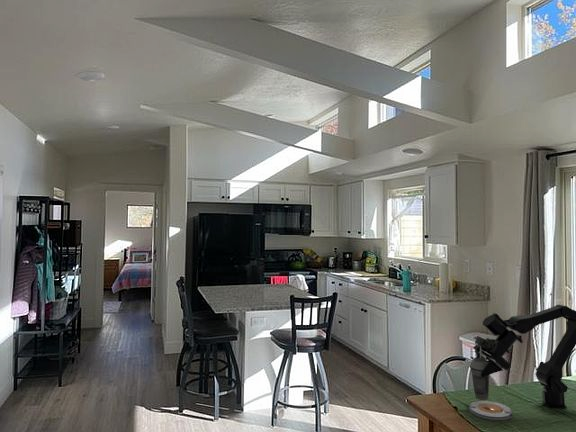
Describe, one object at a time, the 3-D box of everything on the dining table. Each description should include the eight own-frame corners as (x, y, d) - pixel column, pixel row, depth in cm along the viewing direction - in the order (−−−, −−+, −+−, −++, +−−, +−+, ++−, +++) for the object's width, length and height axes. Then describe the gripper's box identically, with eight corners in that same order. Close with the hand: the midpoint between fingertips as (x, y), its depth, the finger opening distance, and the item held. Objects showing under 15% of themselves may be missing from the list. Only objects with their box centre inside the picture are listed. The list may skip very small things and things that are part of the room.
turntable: (504, 404, 165) (504, 401, 165) (516, 419, 151) (516, 416, 151) (466, 402, 167) (466, 399, 168) (474, 416, 154) (474, 414, 154)
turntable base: (505, 405, 165) (505, 403, 165) (518, 422, 150) (518, 420, 150) (465, 404, 168) (465, 401, 168) (473, 419, 153) (473, 417, 153)
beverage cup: (484, 393, 168) (481, 343, 170) (496, 400, 161) (493, 347, 163) (467, 395, 167) (464, 344, 168) (479, 402, 160) (476, 349, 161)
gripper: (476, 324, 175) (451, 352, 174) (500, 334, 156) (472, 366, 156) (496, 342, 175) (471, 371, 174) (522, 355, 156) (495, 386, 155)
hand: (477, 373), depth 165 cm, fingers closed on beverage cup, 7 cm apart
